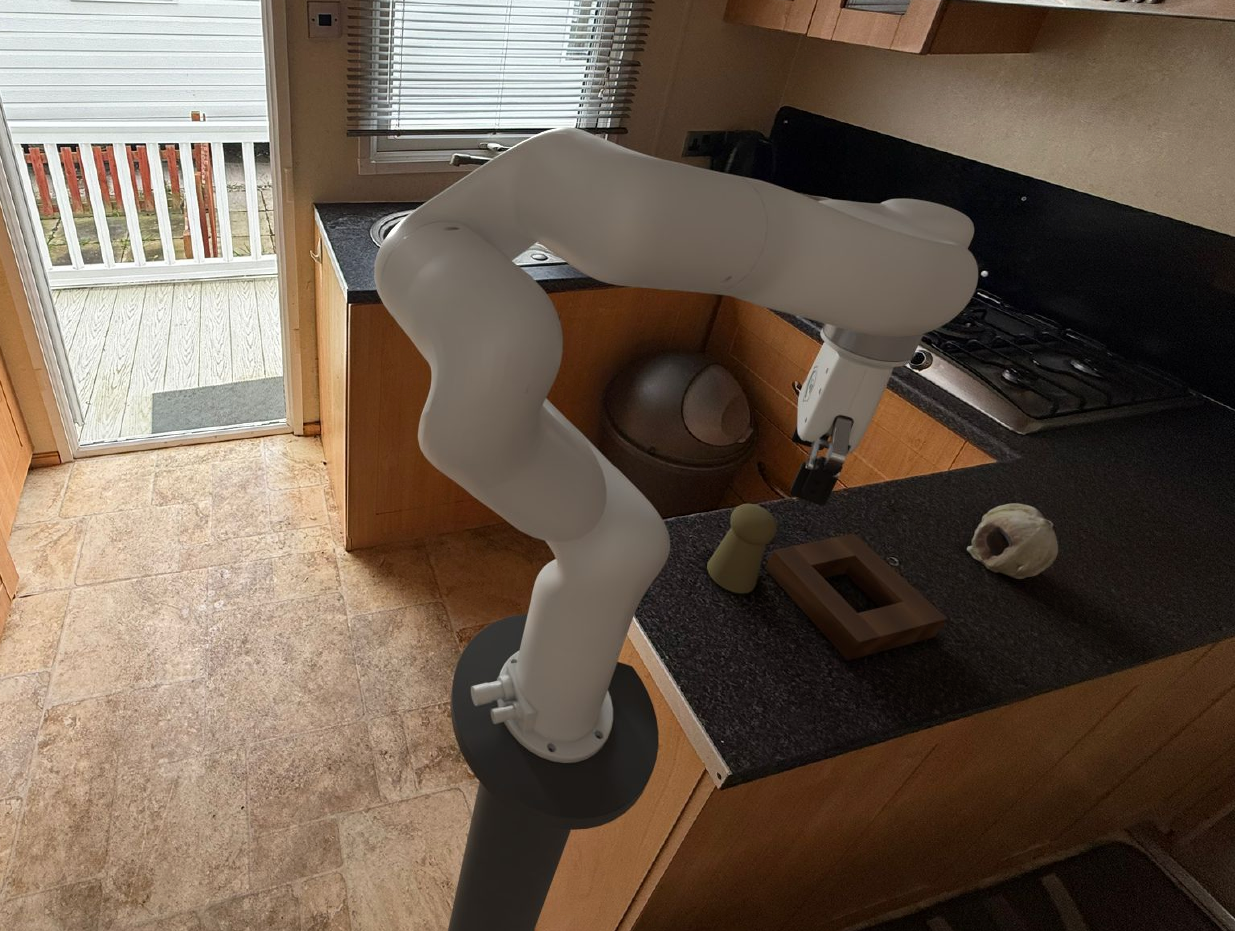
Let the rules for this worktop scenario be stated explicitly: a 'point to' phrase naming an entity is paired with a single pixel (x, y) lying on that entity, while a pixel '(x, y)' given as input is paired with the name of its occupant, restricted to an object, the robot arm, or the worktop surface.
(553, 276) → the worktop surface
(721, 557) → the cork
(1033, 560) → the cream hollow round shell
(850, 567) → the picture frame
